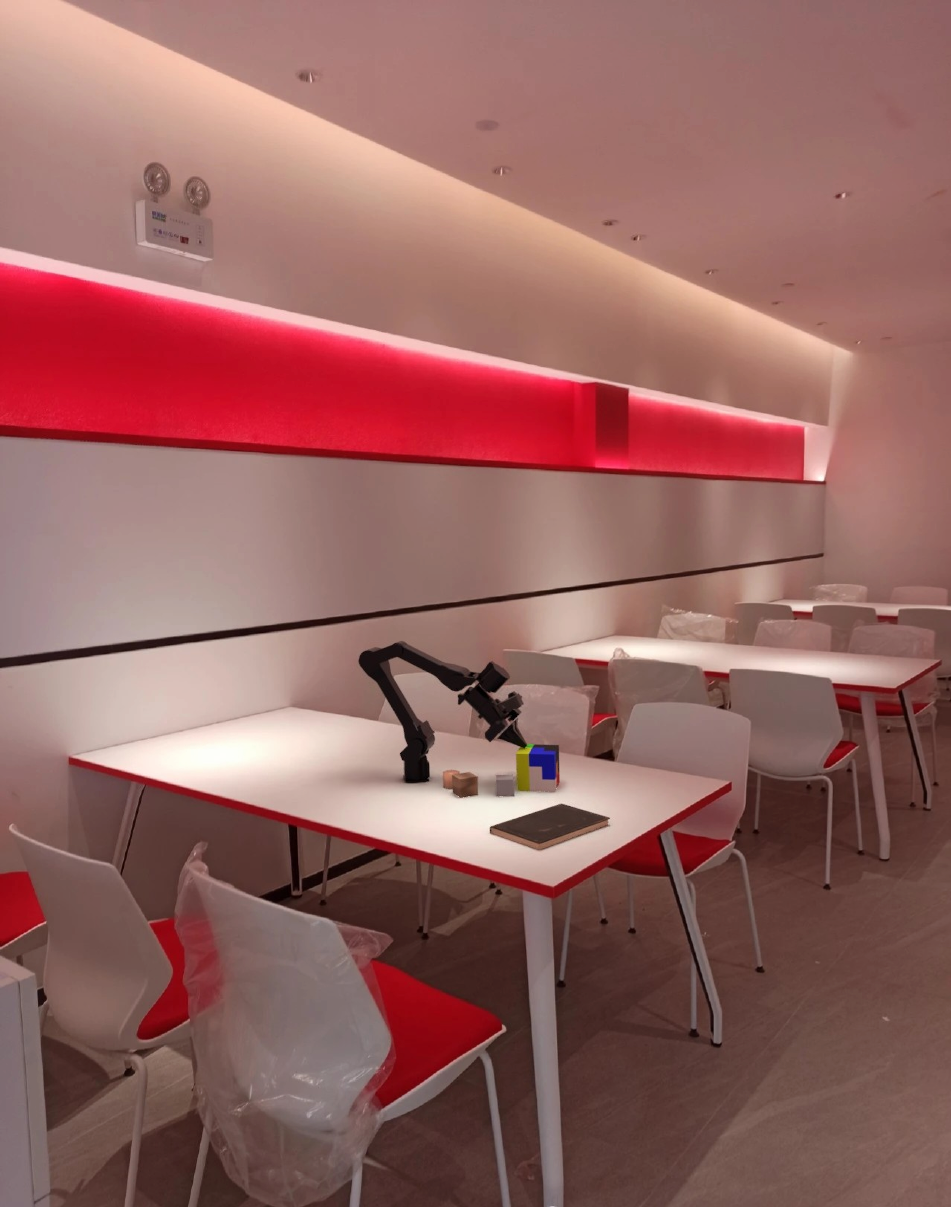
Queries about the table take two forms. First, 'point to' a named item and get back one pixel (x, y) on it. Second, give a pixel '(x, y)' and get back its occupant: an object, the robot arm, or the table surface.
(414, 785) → the table surface
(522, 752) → the puzzle toy
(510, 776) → the slate block
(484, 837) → the table surface
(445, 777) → the terracotta cylinder
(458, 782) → the walnut block
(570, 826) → the hardcover book
